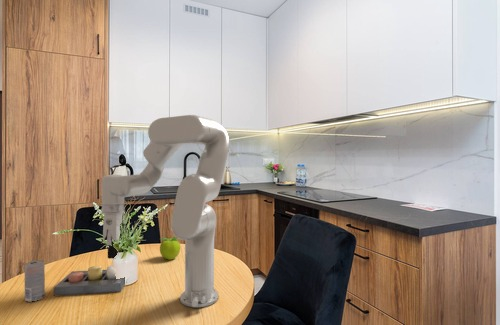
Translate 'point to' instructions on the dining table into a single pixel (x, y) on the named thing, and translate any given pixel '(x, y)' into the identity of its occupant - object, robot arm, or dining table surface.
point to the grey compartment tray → (89, 285)
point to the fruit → (170, 248)
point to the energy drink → (34, 280)
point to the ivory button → (111, 273)
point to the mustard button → (95, 273)
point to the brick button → (76, 277)
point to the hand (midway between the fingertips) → (112, 257)
